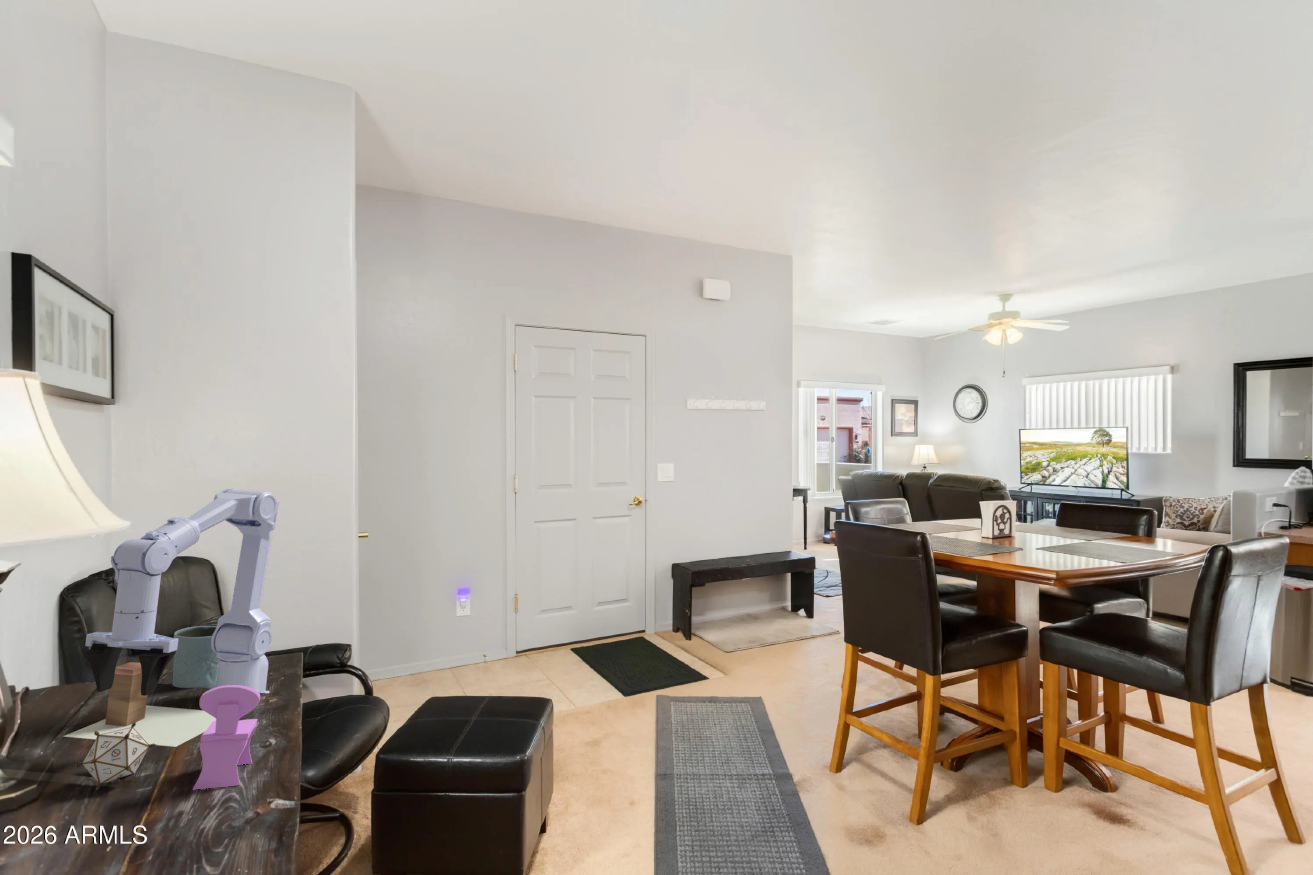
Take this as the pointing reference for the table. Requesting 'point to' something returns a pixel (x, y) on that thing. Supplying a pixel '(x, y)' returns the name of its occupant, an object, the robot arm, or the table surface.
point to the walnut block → (126, 696)
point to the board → (158, 726)
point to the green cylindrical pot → (195, 658)
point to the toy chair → (226, 734)
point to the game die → (115, 755)
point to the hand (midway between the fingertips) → (126, 691)
